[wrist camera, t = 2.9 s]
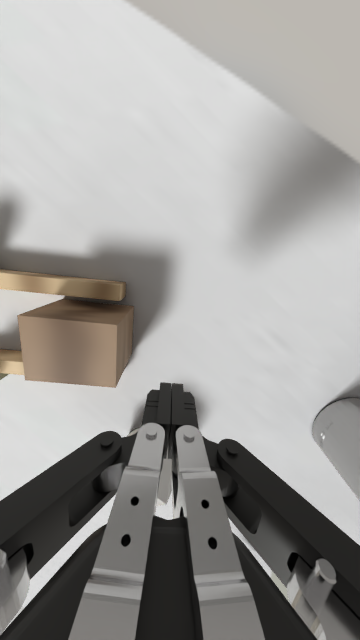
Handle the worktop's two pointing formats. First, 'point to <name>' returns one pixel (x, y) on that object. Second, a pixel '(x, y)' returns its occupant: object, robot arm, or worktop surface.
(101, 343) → the block
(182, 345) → the worktop surface
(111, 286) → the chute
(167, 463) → the die
